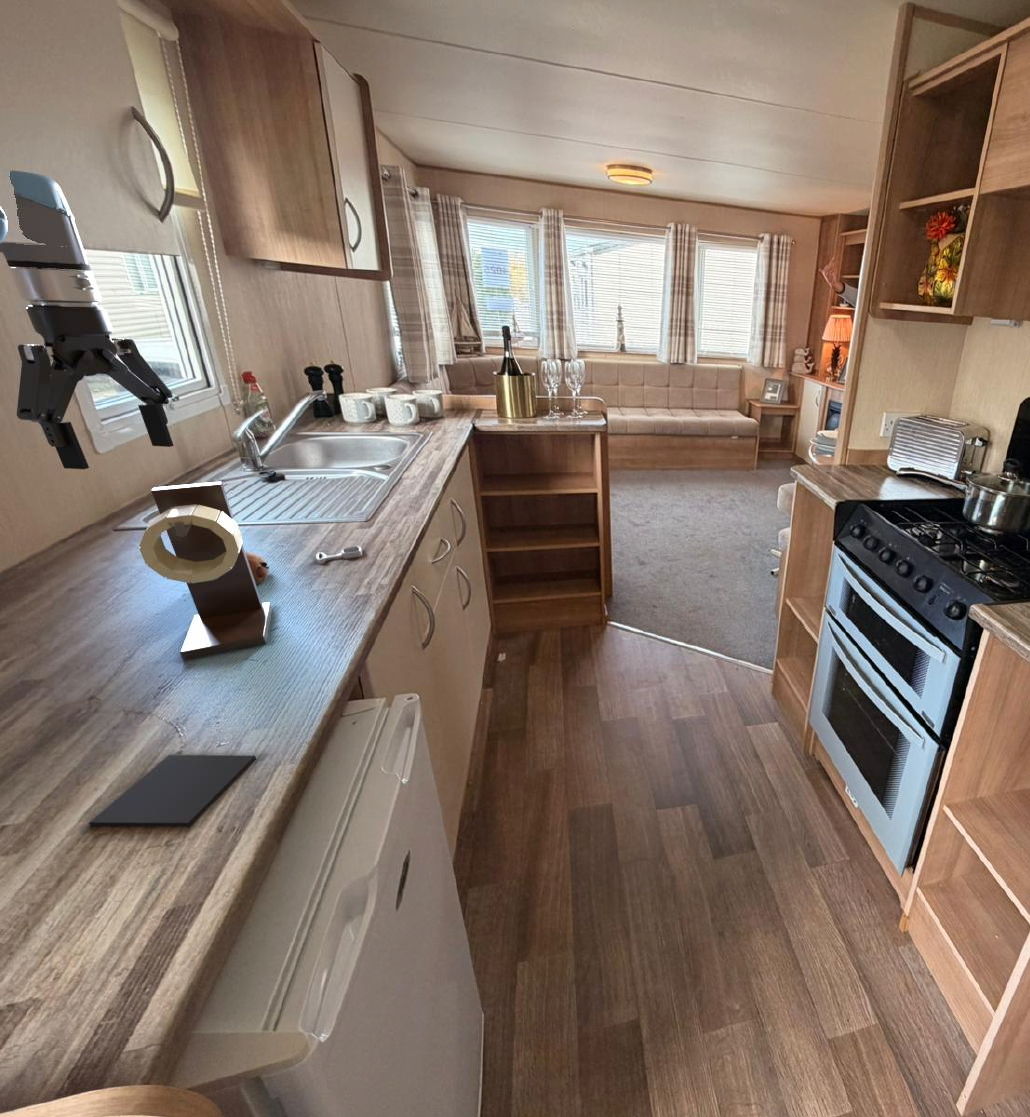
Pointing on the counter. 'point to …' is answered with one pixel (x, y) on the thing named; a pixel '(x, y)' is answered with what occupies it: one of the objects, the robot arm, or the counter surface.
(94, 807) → the counter surface
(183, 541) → the stand
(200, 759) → the mat
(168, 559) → the tape roll
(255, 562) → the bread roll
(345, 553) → the metal bottle opener
